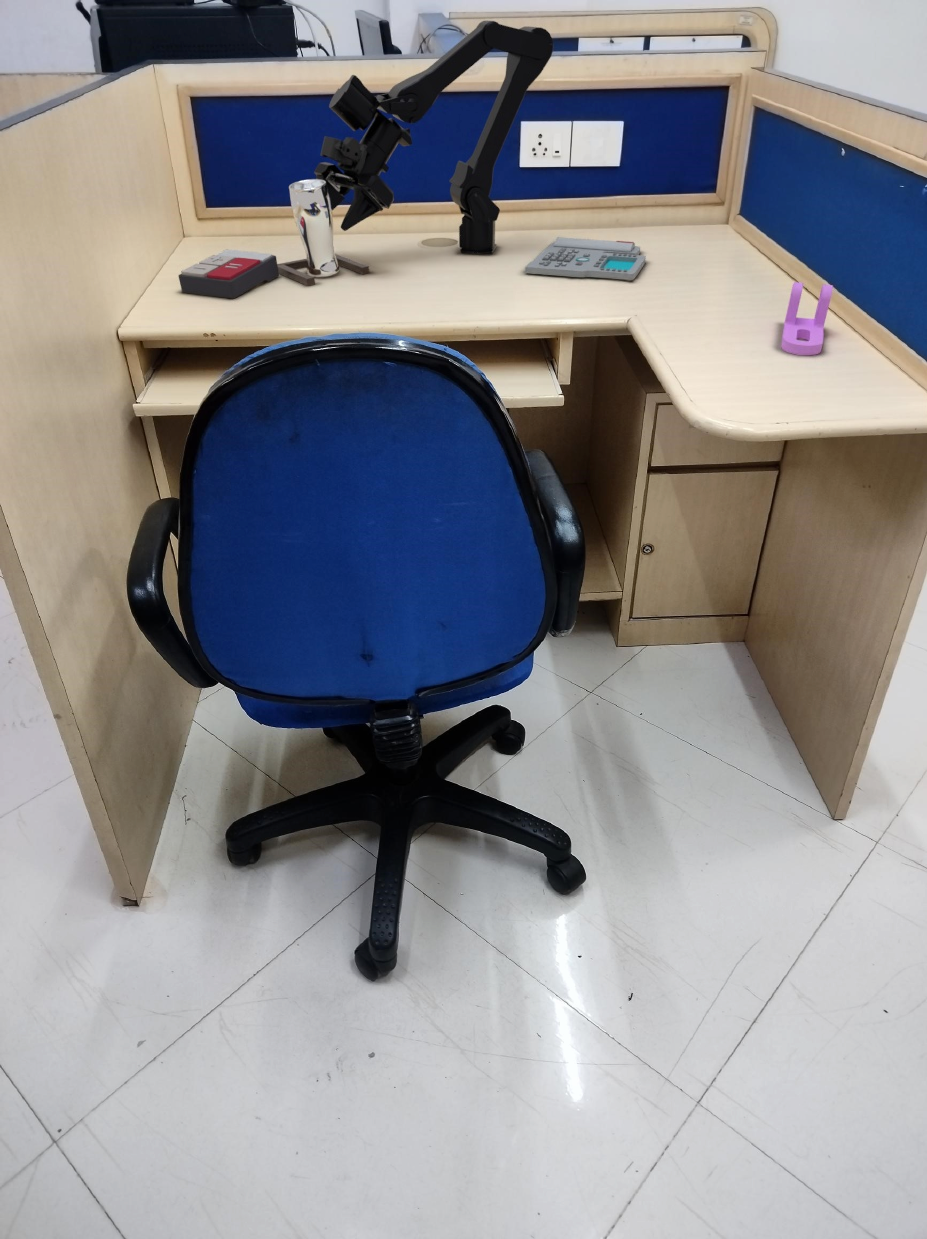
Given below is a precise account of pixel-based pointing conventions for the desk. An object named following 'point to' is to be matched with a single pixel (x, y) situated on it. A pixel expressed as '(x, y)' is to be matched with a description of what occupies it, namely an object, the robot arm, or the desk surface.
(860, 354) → the desk surface
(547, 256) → the office telephone
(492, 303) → the desk surface
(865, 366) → the desk surface
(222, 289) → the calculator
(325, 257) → the beer glass
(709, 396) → the desk surface
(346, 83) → the robot arm
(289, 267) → the frame
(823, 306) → the bracket
